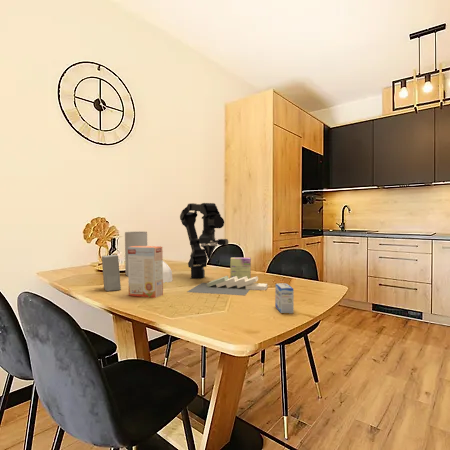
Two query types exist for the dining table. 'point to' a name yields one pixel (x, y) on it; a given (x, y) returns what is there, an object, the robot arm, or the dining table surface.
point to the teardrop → (166, 273)
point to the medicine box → (284, 298)
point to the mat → (219, 289)
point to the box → (240, 267)
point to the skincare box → (111, 272)
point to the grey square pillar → (133, 243)
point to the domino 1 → (217, 281)
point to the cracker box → (145, 271)
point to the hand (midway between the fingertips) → (209, 259)
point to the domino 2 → (227, 281)
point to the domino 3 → (237, 282)
